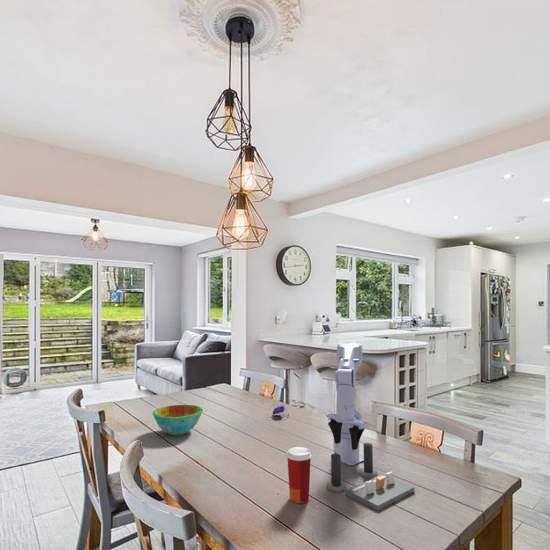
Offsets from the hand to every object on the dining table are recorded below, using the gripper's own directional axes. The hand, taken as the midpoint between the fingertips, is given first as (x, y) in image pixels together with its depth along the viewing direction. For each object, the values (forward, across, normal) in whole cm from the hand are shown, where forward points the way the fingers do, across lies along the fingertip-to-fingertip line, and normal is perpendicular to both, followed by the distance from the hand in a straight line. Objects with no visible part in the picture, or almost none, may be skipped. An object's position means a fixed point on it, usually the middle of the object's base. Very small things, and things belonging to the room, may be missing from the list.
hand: (346, 446), depth 132 cm
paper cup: (+11, 0, -22) cm, 24 cm away
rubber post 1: (+11, +2, -8) cm, 13 cm away
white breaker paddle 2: (+9, +14, +5) cm, 17 cm away
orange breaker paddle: (+9, +13, 0) cm, 16 cm away
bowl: (+10, -79, -24) cm, 83 cm away
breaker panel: (+11, +14, 0) cm, 17 cm away
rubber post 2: (+10, +3, +8) cm, 13 cm away
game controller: (+9, -69, +29) cm, 76 cm away
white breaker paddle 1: (+9, +14, -5) cm, 17 cm away
